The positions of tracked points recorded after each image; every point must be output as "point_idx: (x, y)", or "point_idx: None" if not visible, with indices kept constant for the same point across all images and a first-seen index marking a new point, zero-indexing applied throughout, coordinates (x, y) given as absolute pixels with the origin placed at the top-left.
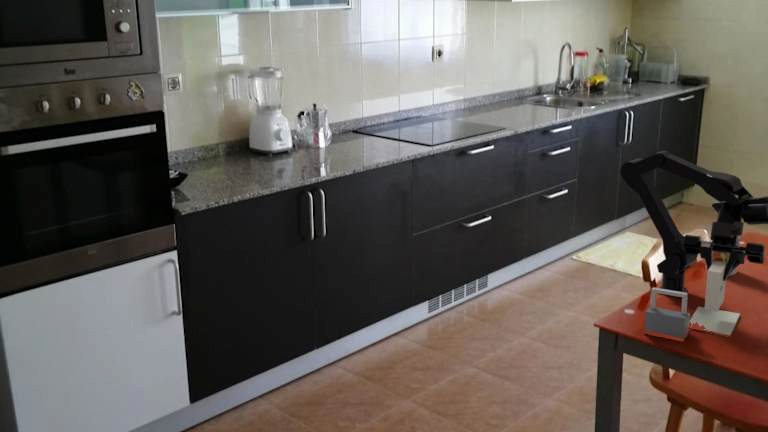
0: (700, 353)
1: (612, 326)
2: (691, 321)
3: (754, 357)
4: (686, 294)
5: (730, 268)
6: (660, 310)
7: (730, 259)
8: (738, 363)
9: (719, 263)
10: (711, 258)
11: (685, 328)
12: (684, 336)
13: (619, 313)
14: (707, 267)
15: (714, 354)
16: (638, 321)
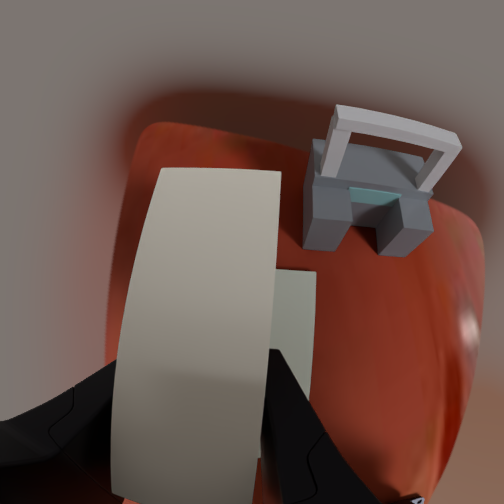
0: (254, 148)
1: (460, 219)
2: (308, 320)
3: (140, 174)
4: (336, 105)
5: (83, 384)
6: (397, 173)
7: (42, 445)
8: (176, 139)
9: (177, 455)
10: (281, 495)
11: (307, 180)
12: (304, 190)
13: (479, 302)
14: (305, 400)
15: (223, 154)
16: (435, 271)
